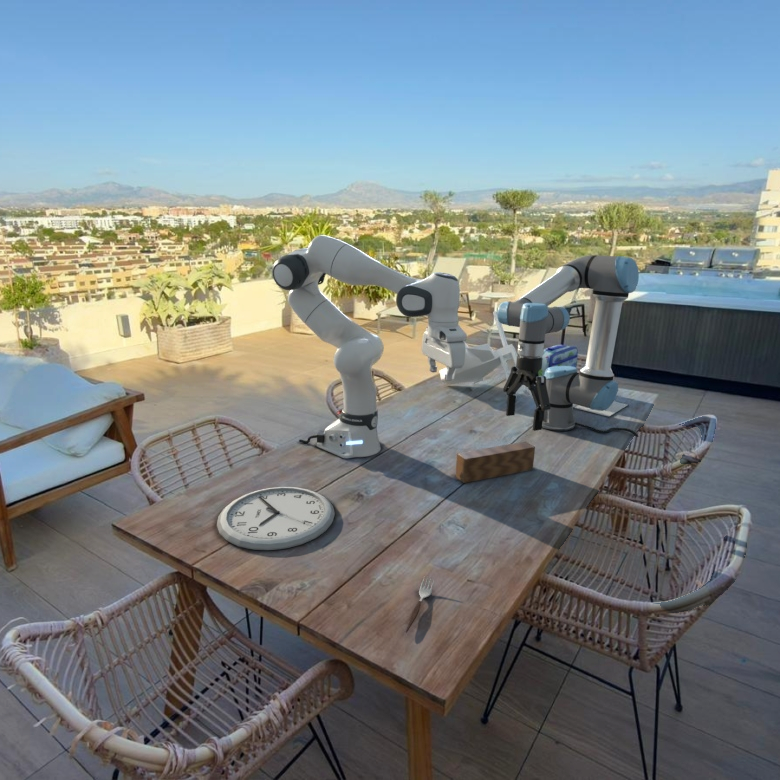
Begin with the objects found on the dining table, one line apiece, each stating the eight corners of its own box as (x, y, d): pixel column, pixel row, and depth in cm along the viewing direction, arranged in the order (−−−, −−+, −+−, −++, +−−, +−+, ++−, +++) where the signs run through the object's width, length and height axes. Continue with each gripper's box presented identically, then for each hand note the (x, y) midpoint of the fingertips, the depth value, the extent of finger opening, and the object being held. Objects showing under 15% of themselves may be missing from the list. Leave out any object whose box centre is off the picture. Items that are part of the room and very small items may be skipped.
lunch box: (550, 397, 237) (555, 352, 231) (529, 391, 245) (533, 348, 238) (577, 386, 255) (582, 344, 249) (556, 381, 262) (561, 340, 256)
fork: (399, 632, 98) (399, 624, 98) (423, 581, 112) (424, 573, 112) (412, 636, 97) (413, 627, 97) (435, 584, 112) (435, 576, 111)
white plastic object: (461, 429, 252) (437, 405, 227) (444, 352, 274) (420, 323, 250) (535, 404, 240) (518, 377, 215) (510, 326, 262) (492, 293, 237)
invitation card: (608, 416, 214) (573, 407, 224) (608, 416, 214) (573, 408, 224) (628, 404, 229) (594, 396, 238) (628, 405, 229) (594, 397, 238)
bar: (523, 463, 170) (525, 441, 168) (532, 469, 166) (535, 446, 164) (455, 476, 161) (456, 453, 158) (463, 483, 156) (465, 459, 154)
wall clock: (333, 542, 123) (202, 546, 121) (333, 547, 124) (203, 552, 121) (335, 482, 152) (229, 485, 149) (335, 487, 152) (230, 490, 150)
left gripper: (417, 324, 160) (415, 368, 164) (450, 337, 142) (447, 386, 146) (435, 323, 162) (433, 366, 166) (470, 336, 144) (467, 383, 149)
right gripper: (495, 347, 166) (490, 410, 172) (546, 366, 144) (538, 438, 150) (515, 346, 168) (509, 408, 175) (568, 364, 147) (559, 434, 153)
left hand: (440, 375), depth 156 cm, fingers open, 8 cm apart
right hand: (523, 422), depth 162 cm, fingers open, 13 cm apart
